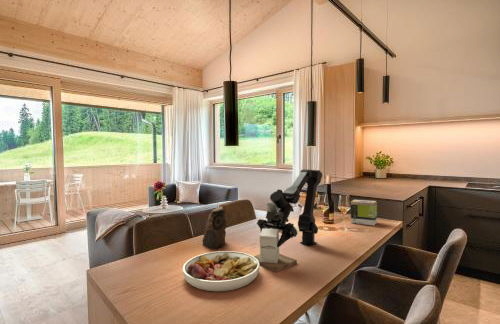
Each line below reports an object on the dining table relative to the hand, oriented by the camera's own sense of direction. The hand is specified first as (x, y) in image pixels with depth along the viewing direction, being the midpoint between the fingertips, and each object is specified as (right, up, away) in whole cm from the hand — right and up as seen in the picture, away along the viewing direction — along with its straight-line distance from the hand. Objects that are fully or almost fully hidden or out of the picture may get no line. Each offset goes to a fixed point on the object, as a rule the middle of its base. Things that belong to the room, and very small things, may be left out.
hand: (268, 244), depth 124 cm
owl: (-27, -8, +28) cm, 39 cm away
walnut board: (+2, -9, +3) cm, 9 cm away
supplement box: (+1, -7, +2) cm, 7 cm away
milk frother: (+11, -6, +61) cm, 62 cm away
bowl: (-19, -10, -10) cm, 24 cm away
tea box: (+68, -5, +67) cm, 95 cm away
